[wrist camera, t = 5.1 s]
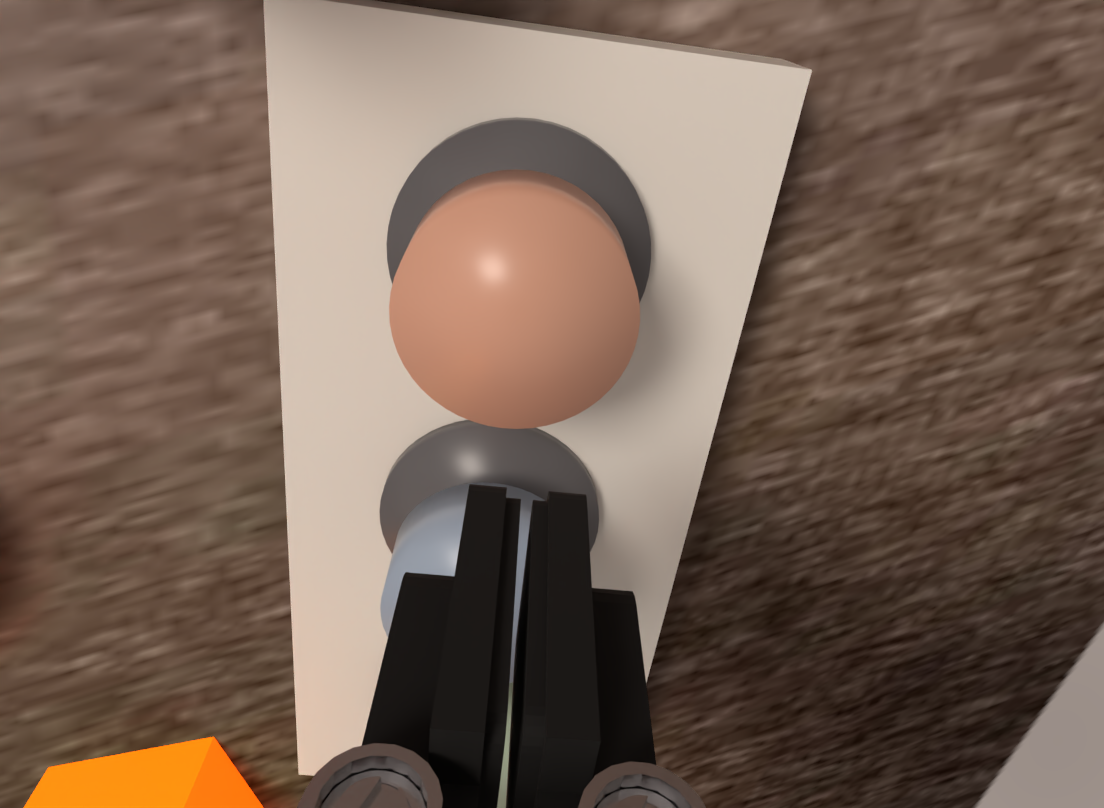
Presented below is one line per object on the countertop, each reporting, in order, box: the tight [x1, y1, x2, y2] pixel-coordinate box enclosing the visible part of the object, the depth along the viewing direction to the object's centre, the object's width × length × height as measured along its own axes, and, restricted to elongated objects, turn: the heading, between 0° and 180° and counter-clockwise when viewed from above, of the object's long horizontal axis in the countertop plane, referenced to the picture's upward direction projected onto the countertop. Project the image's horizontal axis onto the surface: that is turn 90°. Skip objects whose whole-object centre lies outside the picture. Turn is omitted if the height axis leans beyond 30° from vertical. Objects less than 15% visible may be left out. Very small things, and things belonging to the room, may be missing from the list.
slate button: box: [380, 483, 545, 683], centre depth 20 cm, size 5×5×2 cm
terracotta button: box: [389, 169, 640, 429], centre depth 16 cm, size 5×5×2 cm
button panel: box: [263, 0, 812, 775], centre depth 24 cm, size 12×26×3 cm, turn 173°
